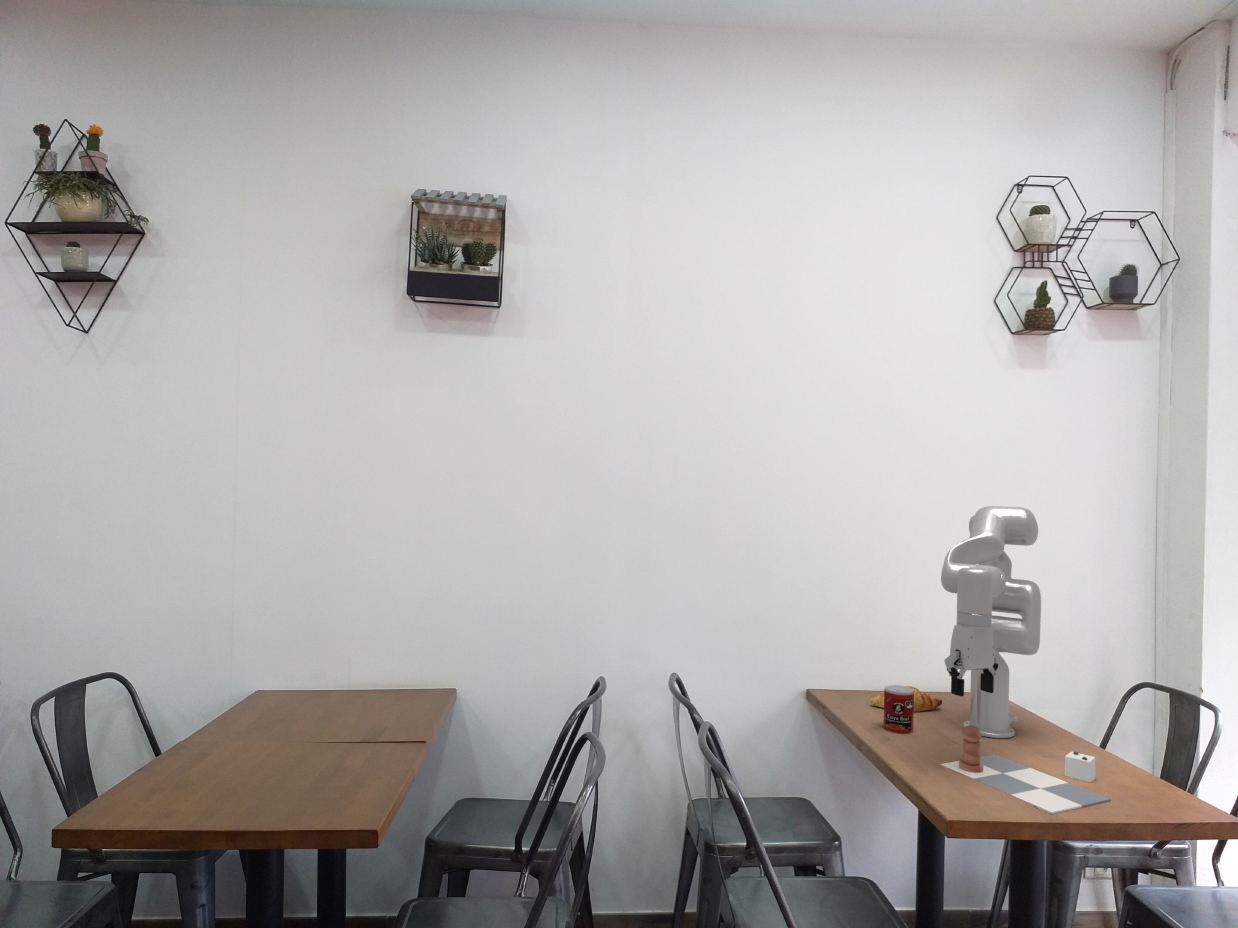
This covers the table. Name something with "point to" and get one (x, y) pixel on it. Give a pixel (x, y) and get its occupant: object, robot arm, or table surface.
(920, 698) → the croissant
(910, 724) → the canned food
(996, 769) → the board
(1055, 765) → the table surface
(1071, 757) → the die
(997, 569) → the robot arm
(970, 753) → the pawn
